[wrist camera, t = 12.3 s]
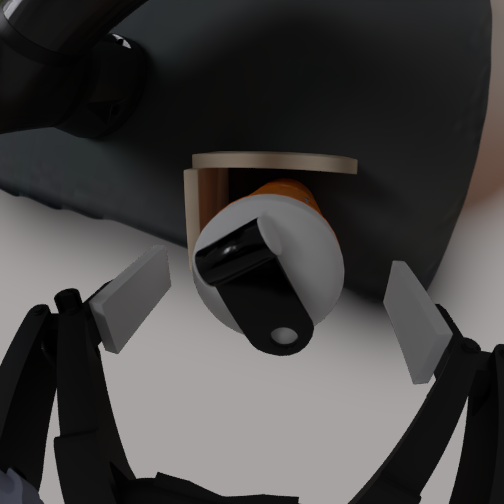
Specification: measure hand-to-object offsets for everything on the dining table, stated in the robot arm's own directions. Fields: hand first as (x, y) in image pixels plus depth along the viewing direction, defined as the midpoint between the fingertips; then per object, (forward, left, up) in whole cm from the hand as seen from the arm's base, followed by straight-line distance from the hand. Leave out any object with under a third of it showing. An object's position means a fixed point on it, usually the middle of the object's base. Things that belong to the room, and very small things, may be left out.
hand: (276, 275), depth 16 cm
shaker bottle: (-1, 0, -18) cm, 18 cm away
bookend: (-1, +1, -17) cm, 18 cm away
